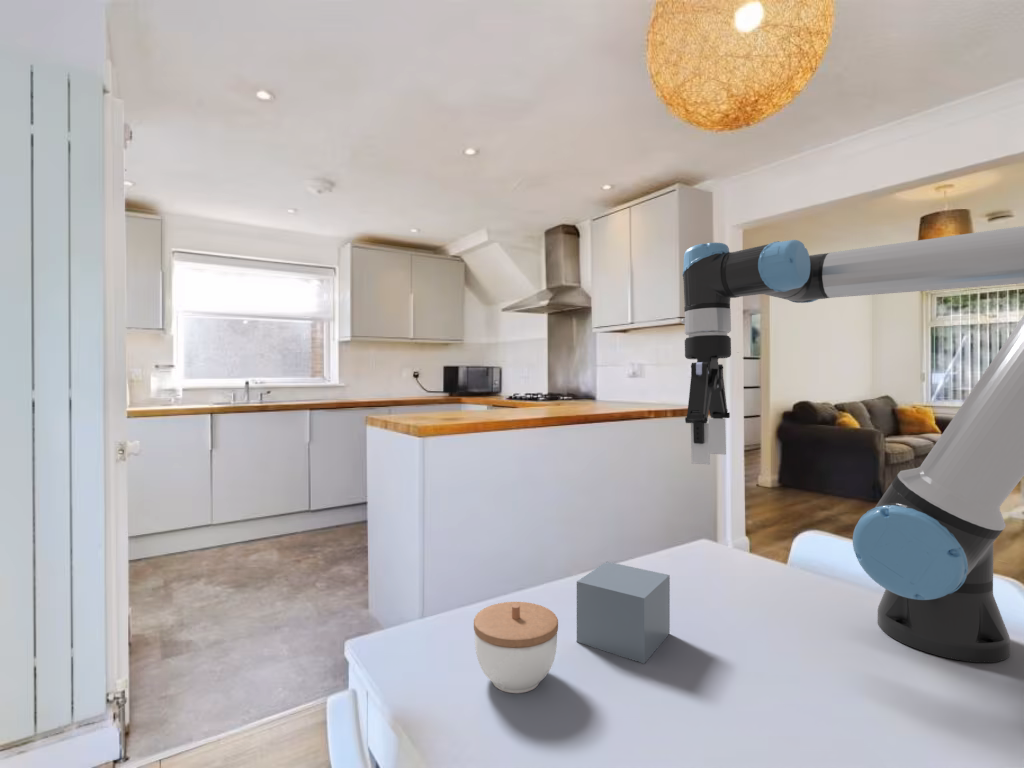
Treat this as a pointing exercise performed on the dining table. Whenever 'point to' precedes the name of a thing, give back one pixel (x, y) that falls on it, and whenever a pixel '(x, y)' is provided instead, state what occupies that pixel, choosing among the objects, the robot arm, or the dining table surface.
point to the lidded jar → (515, 644)
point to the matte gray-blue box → (623, 610)
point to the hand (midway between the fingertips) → (709, 458)
